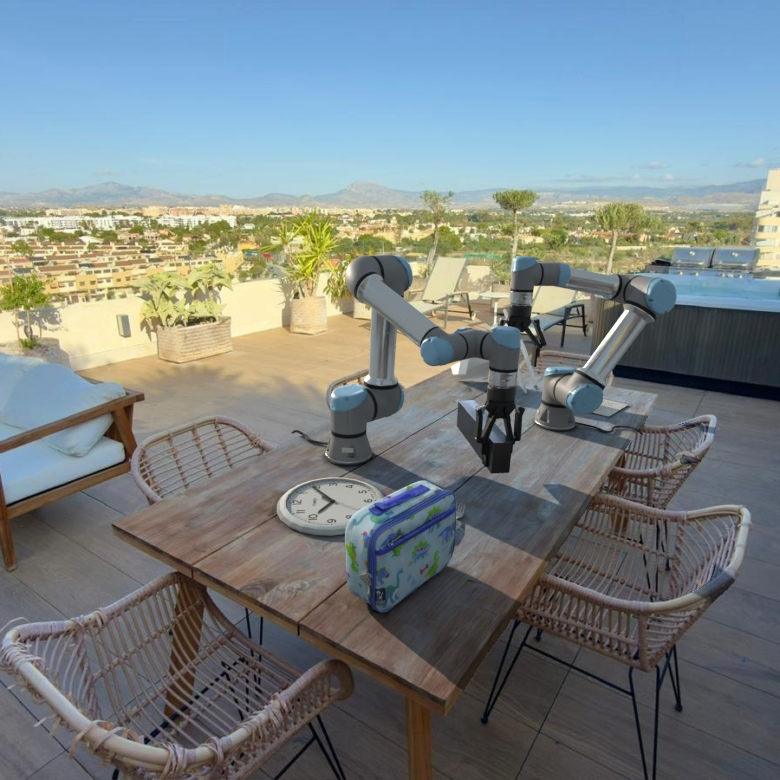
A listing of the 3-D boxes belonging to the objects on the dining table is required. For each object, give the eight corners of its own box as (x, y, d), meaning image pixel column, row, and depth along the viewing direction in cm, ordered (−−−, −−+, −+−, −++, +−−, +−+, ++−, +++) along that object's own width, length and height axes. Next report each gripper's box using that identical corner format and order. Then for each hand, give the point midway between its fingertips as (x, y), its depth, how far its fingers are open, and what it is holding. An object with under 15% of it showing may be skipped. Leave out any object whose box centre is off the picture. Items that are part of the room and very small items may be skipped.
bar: (456, 425, 175) (458, 400, 173) (471, 425, 176) (473, 400, 173) (491, 473, 142) (493, 443, 139) (509, 472, 143) (512, 442, 140)
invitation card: (608, 416, 214) (573, 407, 224) (608, 416, 214) (573, 408, 224) (628, 404, 229) (594, 396, 238) (628, 405, 229) (594, 397, 238)
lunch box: (374, 626, 100) (375, 530, 93) (338, 598, 107) (337, 508, 101) (459, 568, 117) (465, 484, 111) (424, 547, 124) (427, 467, 118)
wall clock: (392, 527, 129) (268, 531, 127) (391, 533, 130) (269, 537, 127) (383, 473, 158) (282, 475, 155) (383, 478, 158) (282, 480, 156)
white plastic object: (472, 423, 260) (450, 400, 235) (454, 348, 282) (432, 320, 258) (544, 398, 248) (529, 371, 223) (519, 323, 270) (503, 291, 245)
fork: (441, 539, 128) (441, 532, 127) (456, 508, 142) (456, 501, 141) (451, 541, 127) (452, 534, 126) (465, 510, 141) (466, 503, 141)
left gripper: (473, 390, 134) (467, 471, 141) (540, 388, 137) (531, 468, 144) (464, 381, 142) (459, 460, 149) (529, 380, 144) (521, 457, 151)
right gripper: (487, 306, 168) (483, 369, 174) (561, 305, 171) (553, 368, 178) (480, 302, 175) (476, 364, 181) (551, 302, 178) (544, 362, 185)
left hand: (495, 464), depth 146 cm, fingers closed on bar, 5 cm apart
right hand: (514, 366), depth 179 cm, fingers open, 13 cm apart
